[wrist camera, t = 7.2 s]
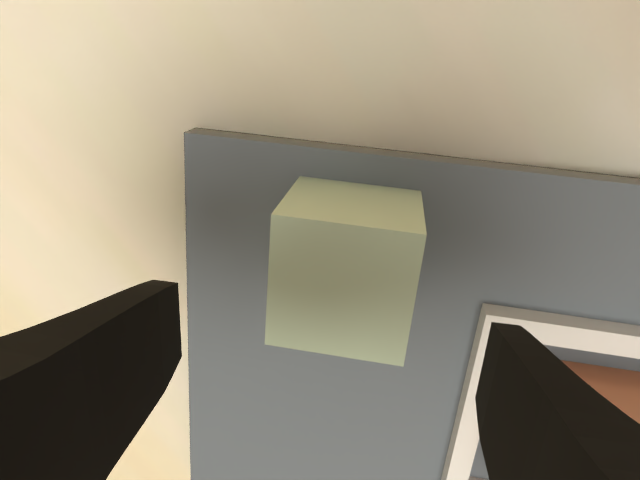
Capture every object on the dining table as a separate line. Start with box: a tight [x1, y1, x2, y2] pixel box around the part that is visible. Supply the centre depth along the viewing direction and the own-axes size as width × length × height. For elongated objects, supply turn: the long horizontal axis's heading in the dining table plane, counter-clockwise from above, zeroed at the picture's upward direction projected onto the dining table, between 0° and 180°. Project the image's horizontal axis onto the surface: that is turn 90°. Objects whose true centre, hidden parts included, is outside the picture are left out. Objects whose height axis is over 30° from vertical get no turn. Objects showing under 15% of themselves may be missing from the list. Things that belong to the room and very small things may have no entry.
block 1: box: [265, 176, 427, 367], centre depth 15 cm, size 4×4×4 cm
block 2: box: [561, 360, 640, 424], centre depth 16 cm, size 5×5×5 cm
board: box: [184, 128, 640, 480], centre depth 19 cm, size 22×16×2 cm
